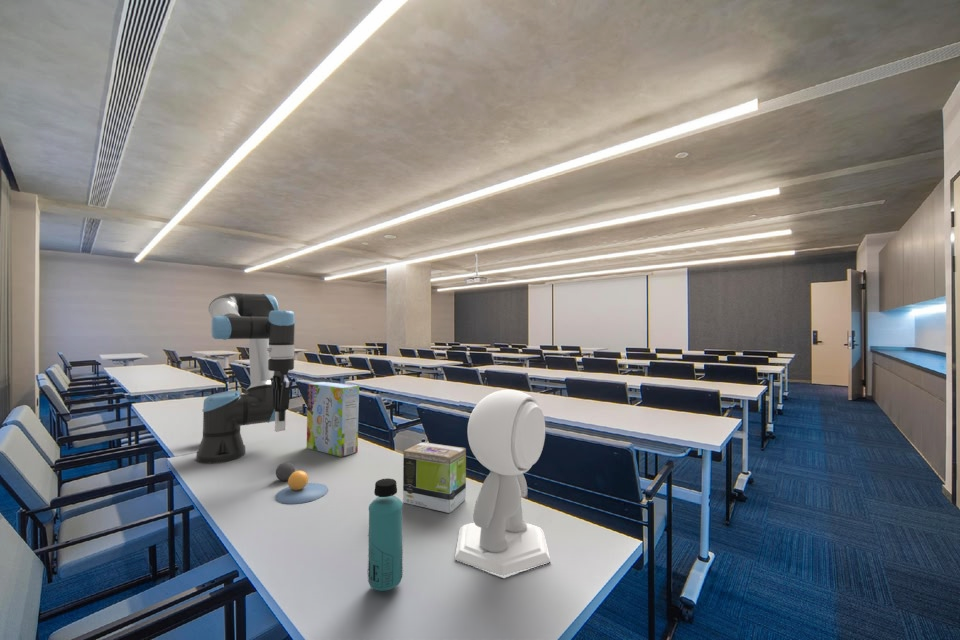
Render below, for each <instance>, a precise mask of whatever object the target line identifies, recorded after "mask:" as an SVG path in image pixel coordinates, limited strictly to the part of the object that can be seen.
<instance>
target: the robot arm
mask: <svg viewBox="0 0 960 640" xmlns="http://www.w3.org/2000/svg"><path fill="white" fill-rule="evenodd" d="M208 313H209V315H210V317H211V324H210V325H211V328H210V329H211V330H210V331H211V338H212V339H215V340H224V341H226V340H248V348H249V349H248V351H249V352H248V355H249V377H250V379H249V381H250V386H248V387H247V388H246V393H242V392H241V390H227V391H222V392H217V393H213V394H210V395H208V396H206V397H205V399H204V400H203V407H202V412H203V417H202V418H203V419H202V437H201V441H200V444H199V447H198V450H197V452H196V456H195V457H196V459H195V461H197V462H198V463H201V464H216V463H217V464H218V463H225V462H230V461H233V460H236V459H237V460H238V459H239V458H241V456H242V457H243V456H244V455H246V445H245V444H244V440H243V437H242V434H241V426H250V425H256V424H264V423H265V424H266V423H269V424H270V423H272V422H274V432H277V433H278V432H283V431H286V423H287V422H286V421H287V420H286V419H287V418H286V417H287V416H286V414H287V413H286V411H287V410H289V407H290V398H291V388H292V384H293V381H292V380H290V375H289V371H293V370H294V368H295V358H293V357H295V324H296V319H295V318H296V317H295V313H294V311H293V310H280V307H279V303H278V300H277V298H276V297H275V296H274V295H271V294H264V293H262V294H260V293H259V294H258V293H240V292H230V293H226V294H221V295H219V296H216V297H215V298H214V299H213V300H211V301H210V303H209V306H208Z"/></svg>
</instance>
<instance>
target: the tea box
mask: <svg viewBox="0 0 960 640" xmlns="http://www.w3.org/2000/svg"><path fill="white" fill-rule="evenodd" d="M402 461H403V462H402V463H403V464H402V465H403V469H402V470H403V472H402V473H403V475H402V479H403V481H402V482H403V483H402V484H403V485H402V491H403V492H402V494H403V496H402V498H403V499H402V501H403V502H402V503H404V504H407V505H408V504H409V505H412V506H417V507H421V508H426V509H431V510H435V511H440V512H443V513H447V514H450V513H451V512H454V510H455V509H457V507H459V506H460V505H461V504H462V503H463V502H465V500H466V496H467V495H466V491H467V489H466V488H467V480H466V479H467V477H466V476H467V470H466V469H467V448H466V447H461V446H460V447H459V446H453V445H445V444H441V443H440V444H438V443H433V442H432V443H431V442H424V441H422V442H419V443H417V444H415V445H413V446H411V447H409V448H406V449H405V450H403V460H402Z"/></svg>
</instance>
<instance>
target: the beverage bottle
mask: <svg viewBox="0 0 960 640" xmlns="http://www.w3.org/2000/svg"><path fill="white" fill-rule="evenodd" d="M397 492H398V487H397V481H396V479H393V478H381V479H379V480H376V482H375V484H374V492H373V493H374V495H375V496H376V497H375V498H374V499H373V501H372V502H371V503H370V504H369V505H368V529H367V532H368V533H367V534H368V535H367V536H368V555H367V558H368V560H367V579H368V580H367V581H368V585H369V586H370V588H372V590H375V591H381V592H383V591H389V590H392V589H394V588H396V587H398V586H399V585H400V583H401V582H402V578H403V576H404V575H403V569H404V566H403V560H404V559H403V558H404V556H403V546H404V545H403V506H404V504H403V502H402V501H403V500H401V499H399V498H398V497H397V496H395V495H397Z"/></svg>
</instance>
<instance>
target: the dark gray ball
mask: <svg viewBox="0 0 960 640" xmlns="http://www.w3.org/2000/svg"><path fill="white" fill-rule="evenodd" d="M295 471H296V468H295V465H294V464H293V463H292V462H289V461H285V462H281V463H280V464H279V465H278V466H277V467H276V469H275V476H276V478H277V479H278V480H279V481H283V482H284V481H288V479H289V477H290V475H291V474H292V473H293V472H295Z"/></svg>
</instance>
